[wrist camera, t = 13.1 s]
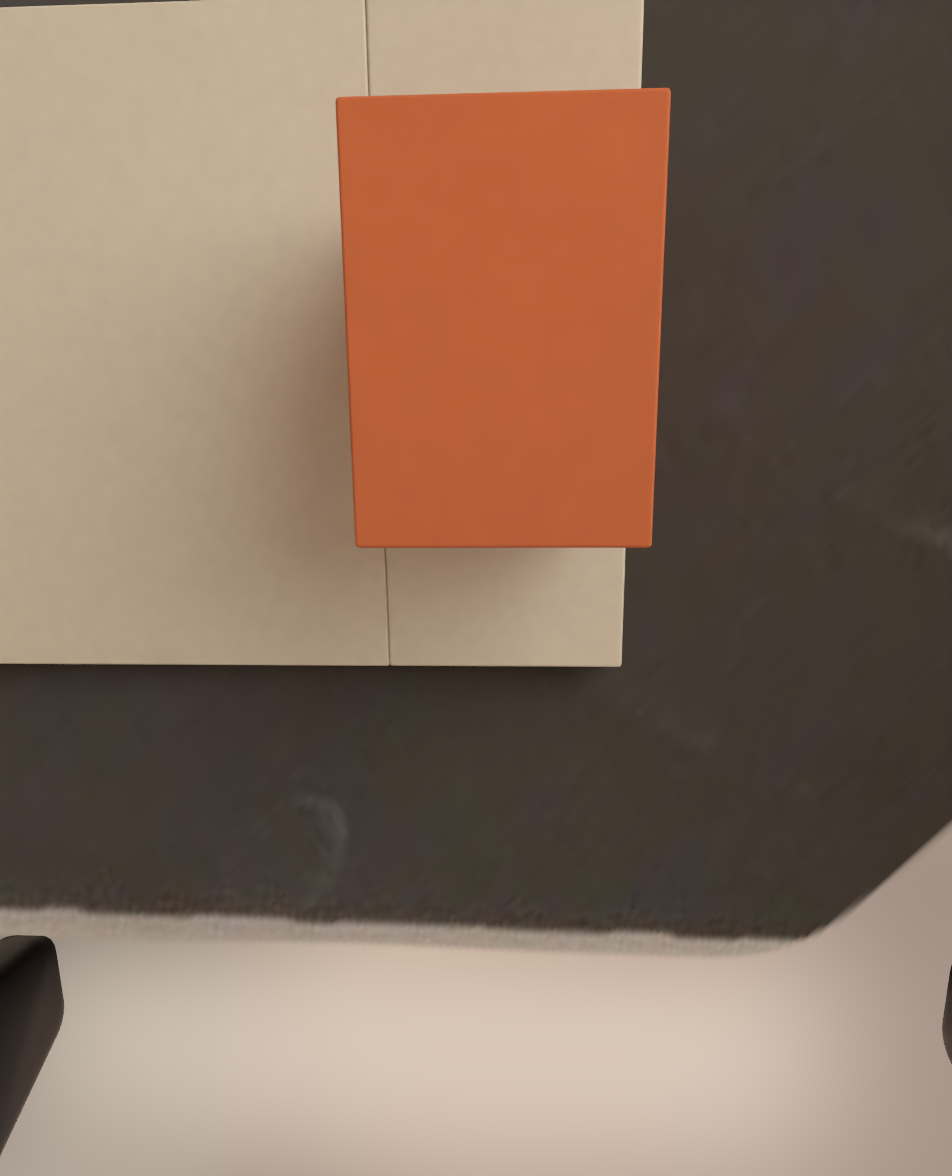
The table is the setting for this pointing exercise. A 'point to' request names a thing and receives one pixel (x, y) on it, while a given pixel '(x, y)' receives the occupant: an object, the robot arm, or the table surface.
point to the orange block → (503, 315)
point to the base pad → (238, 338)
